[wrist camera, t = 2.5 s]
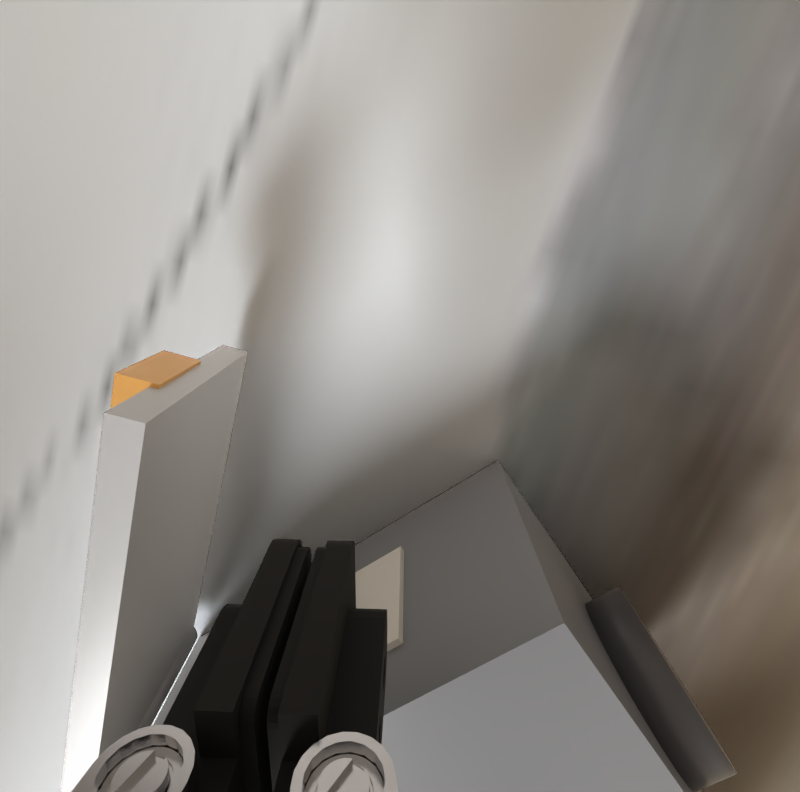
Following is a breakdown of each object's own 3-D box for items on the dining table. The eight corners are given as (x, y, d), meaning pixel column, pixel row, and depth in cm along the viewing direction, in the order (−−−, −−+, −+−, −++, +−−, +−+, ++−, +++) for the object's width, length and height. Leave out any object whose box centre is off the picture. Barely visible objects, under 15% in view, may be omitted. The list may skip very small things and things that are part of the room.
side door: (194, 649, 19) (94, 841, 13) (147, 638, 19) (24, 827, 13) (254, 350, 16) (156, 421, 10) (197, 335, 16) (62, 396, 10)
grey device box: (345, 789, 23) (313, 1065, 15) (195, 634, 20) (69, 869, 13) (654, 637, 20) (804, 880, 12) (524, 438, 18) (612, 588, 10)
